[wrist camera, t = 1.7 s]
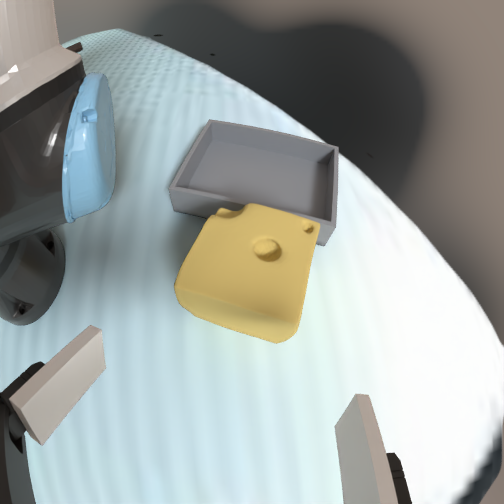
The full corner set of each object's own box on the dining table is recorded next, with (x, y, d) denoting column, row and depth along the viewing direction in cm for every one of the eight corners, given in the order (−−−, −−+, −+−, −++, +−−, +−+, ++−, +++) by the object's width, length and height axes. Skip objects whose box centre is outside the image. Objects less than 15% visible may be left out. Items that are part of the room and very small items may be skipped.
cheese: (219, 241, 34) (216, 187, 25) (303, 267, 33) (329, 220, 24) (186, 318, 29) (167, 286, 20) (280, 350, 28) (304, 332, 19)
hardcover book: (39, 65, 72) (38, 62, 70) (81, 45, 79) (80, 41, 77) (36, 73, 66) (35, 70, 64) (82, 51, 74) (81, 46, 72)
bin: (174, 211, 35) (168, 189, 31) (210, 140, 42) (209, 119, 38) (324, 246, 34) (335, 227, 30) (330, 167, 42) (338, 147, 38)
